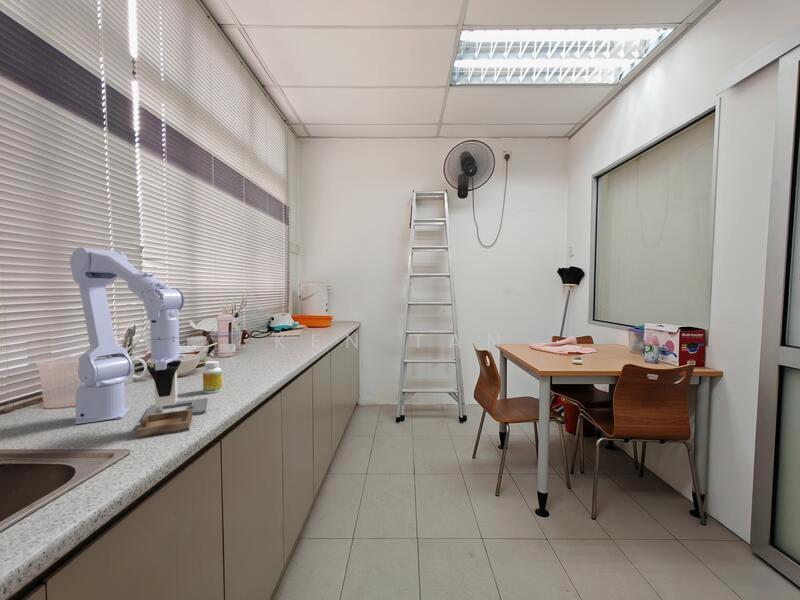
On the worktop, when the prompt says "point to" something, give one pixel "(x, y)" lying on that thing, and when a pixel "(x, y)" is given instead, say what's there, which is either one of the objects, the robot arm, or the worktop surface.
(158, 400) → the block
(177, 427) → the tray
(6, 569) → the worktop surface
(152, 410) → the frame
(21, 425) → the worktop surface
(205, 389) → the supplement bottle
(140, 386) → the worktop surface
